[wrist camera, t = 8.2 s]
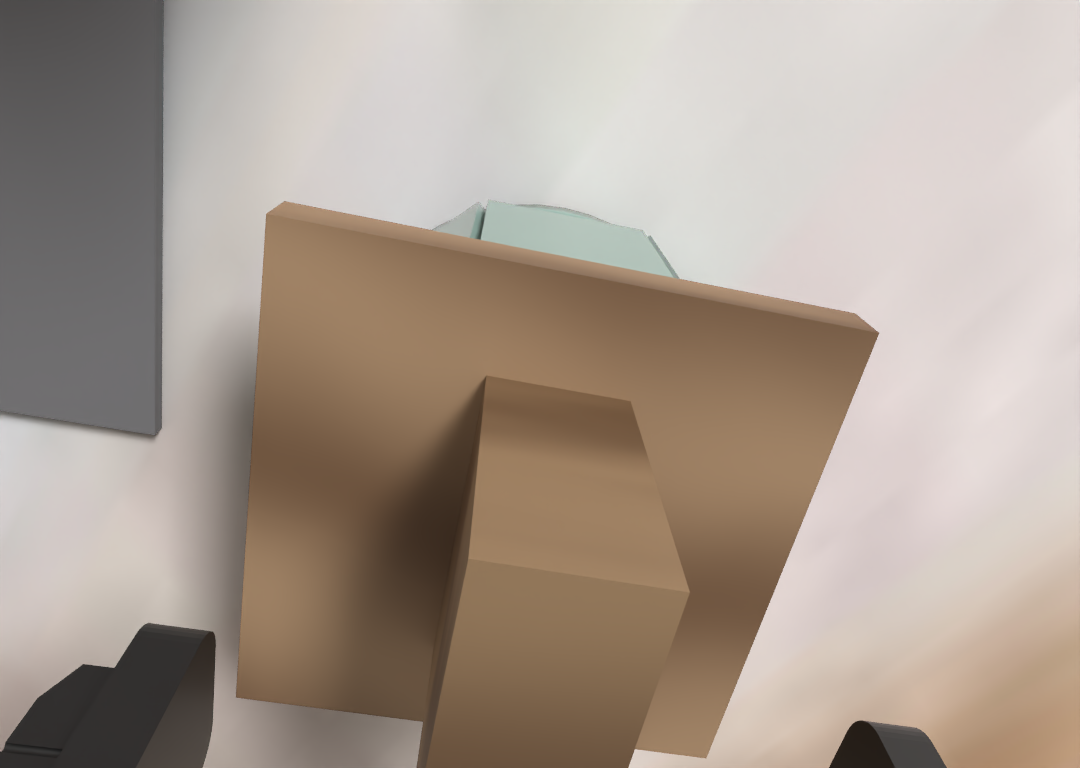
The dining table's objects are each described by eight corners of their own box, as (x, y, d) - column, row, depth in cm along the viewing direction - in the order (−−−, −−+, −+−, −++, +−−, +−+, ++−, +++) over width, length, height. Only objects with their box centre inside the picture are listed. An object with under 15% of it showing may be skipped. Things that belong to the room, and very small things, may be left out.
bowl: (368, 169, 17) (315, 214, 13) (750, 244, 18) (826, 312, 14) (332, 503, 21) (280, 633, 16) (653, 552, 22) (688, 688, 17)
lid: (284, 201, 13) (103, 323, 7) (854, 313, 14) (1080, 495, 8) (251, 661, 17) (119, 967, 11) (696, 721, 18) (776, 1028, 12)
